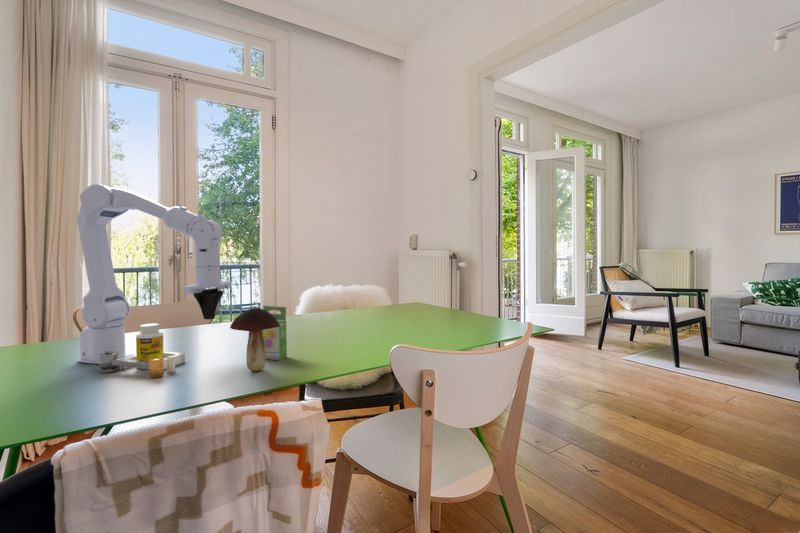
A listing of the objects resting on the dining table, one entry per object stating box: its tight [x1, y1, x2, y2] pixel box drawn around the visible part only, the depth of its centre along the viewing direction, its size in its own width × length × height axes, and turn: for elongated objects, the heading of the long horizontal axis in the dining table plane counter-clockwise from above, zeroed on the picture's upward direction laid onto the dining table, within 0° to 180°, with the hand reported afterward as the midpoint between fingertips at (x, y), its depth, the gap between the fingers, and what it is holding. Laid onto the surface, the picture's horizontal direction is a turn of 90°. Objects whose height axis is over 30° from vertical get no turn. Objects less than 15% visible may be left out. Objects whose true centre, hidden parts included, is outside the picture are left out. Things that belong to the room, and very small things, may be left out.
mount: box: [98, 366, 121, 375], centre depth 93 cm, size 4×4×1 cm
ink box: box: [262, 305, 288, 361], centre depth 104 cm, size 7×4×13 cm, turn 75°
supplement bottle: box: [135, 322, 164, 370], centre depth 96 cm, size 6×6×10 cm
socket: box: [120, 350, 186, 370], centre depth 97 cm, size 10×9×2 cm
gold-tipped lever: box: [99, 351, 165, 378], centre depth 91 cm, size 17×4×4 cm, turn 74°
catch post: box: [166, 356, 176, 374], centre depth 92 cm, size 2×2×4 cm
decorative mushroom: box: [229, 307, 280, 373], centre depth 93 cm, size 11×11×15 cm
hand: (209, 318), depth 103 cm, fingers closed
